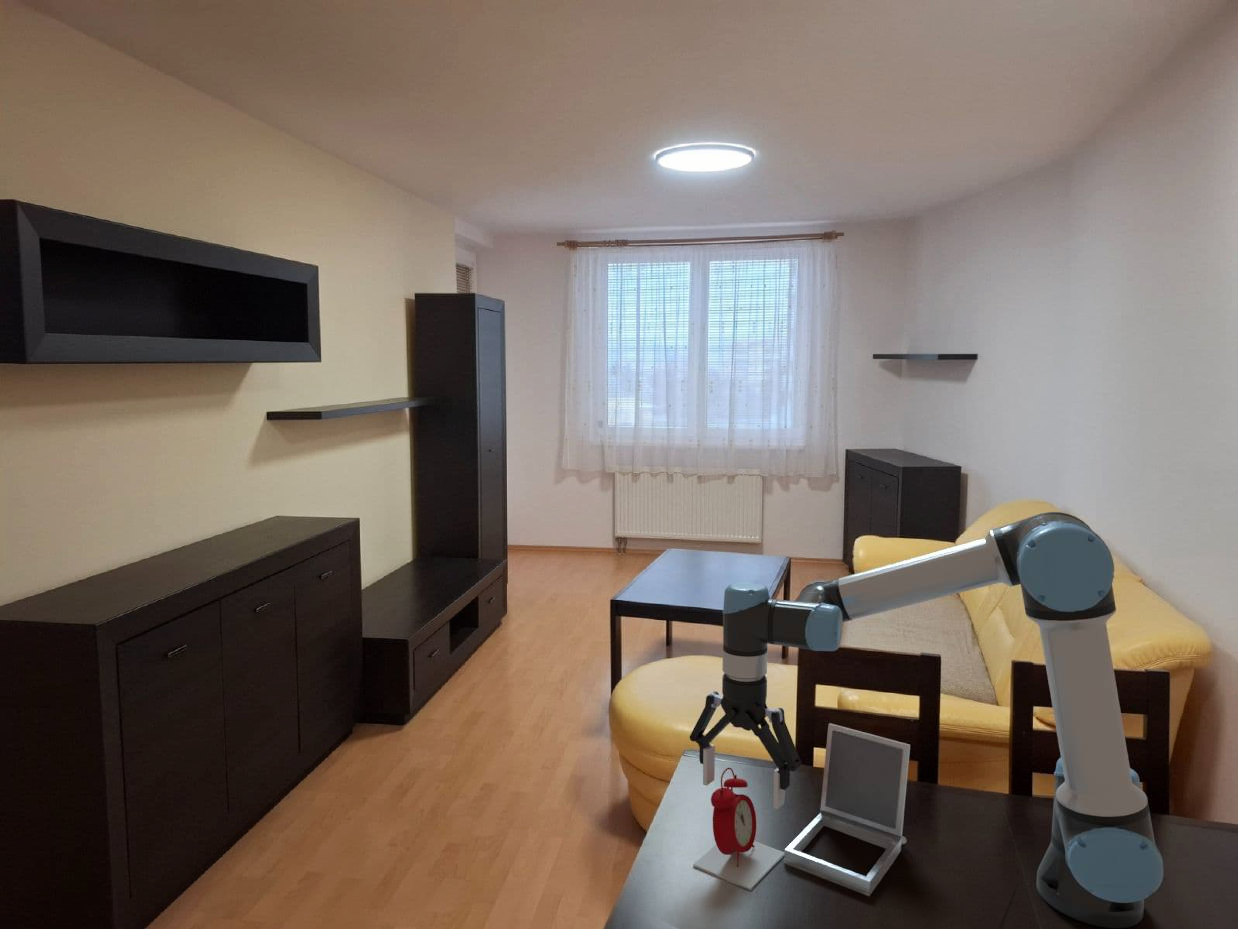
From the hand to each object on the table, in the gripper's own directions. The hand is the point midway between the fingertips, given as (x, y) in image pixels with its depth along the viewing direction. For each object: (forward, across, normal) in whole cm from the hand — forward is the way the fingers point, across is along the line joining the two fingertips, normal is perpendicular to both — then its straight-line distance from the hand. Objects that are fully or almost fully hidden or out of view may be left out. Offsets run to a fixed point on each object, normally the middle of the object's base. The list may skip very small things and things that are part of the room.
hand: (742, 793), depth 140 cm
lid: (+9, -14, -19) cm, 25 cm away
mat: (+12, 0, 0) cm, 12 cm away
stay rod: (+12, -20, -23) cm, 33 cm away
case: (+12, -14, -12) cm, 22 cm away
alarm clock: (+12, +2, 0) cm, 12 cm away
